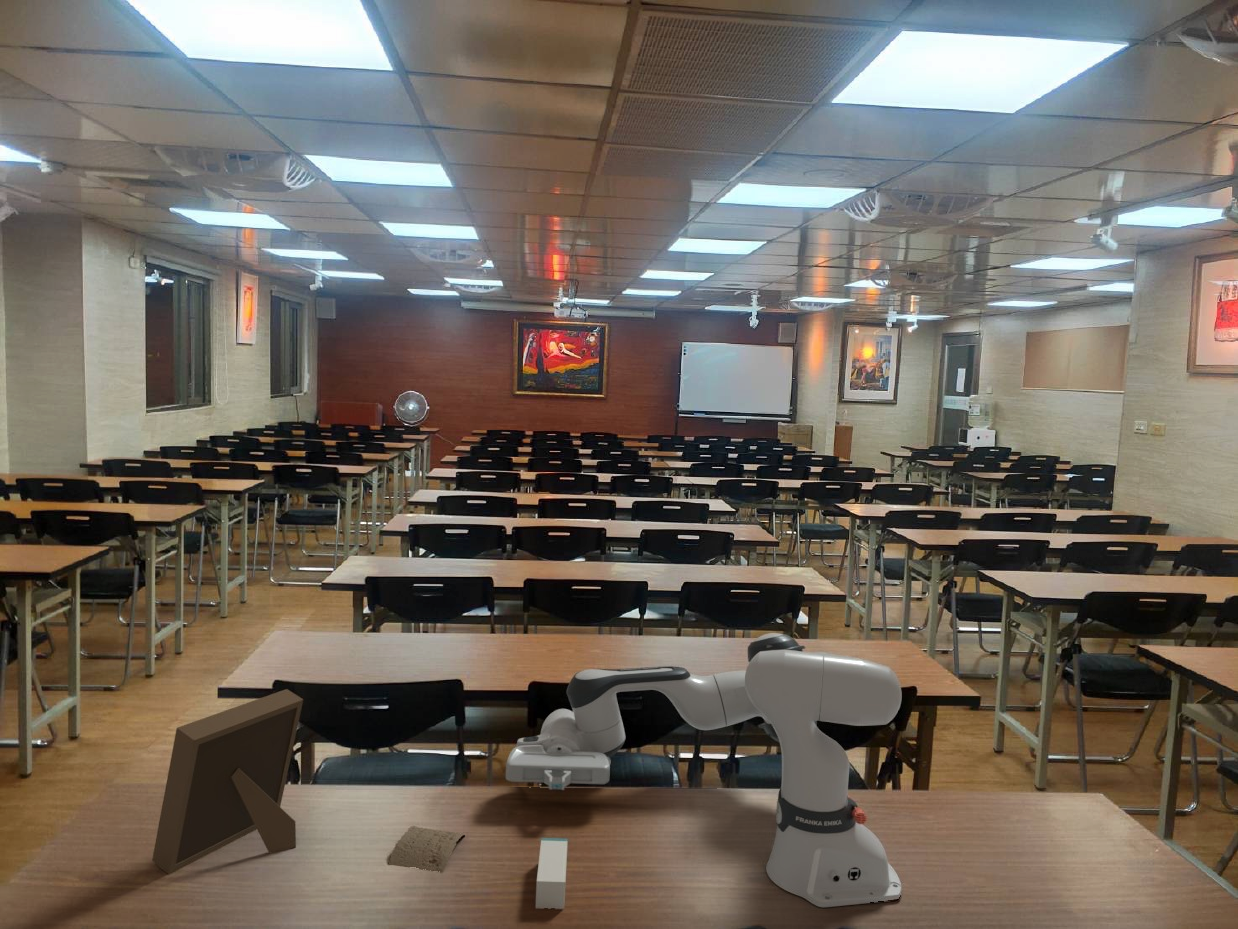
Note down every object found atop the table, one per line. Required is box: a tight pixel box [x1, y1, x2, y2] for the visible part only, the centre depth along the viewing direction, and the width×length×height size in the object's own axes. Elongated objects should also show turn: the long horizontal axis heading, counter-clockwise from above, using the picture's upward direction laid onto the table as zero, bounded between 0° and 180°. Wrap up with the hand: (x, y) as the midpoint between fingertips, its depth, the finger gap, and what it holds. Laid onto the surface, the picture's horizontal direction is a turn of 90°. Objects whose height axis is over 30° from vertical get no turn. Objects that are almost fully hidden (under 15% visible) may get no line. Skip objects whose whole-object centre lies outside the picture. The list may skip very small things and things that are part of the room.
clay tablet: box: [388, 825, 464, 874], centre depth 151 cm, size 15×10×3 cm
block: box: [535, 837, 569, 910], centre depth 142 cm, size 4×4×13 cm
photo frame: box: [151, 688, 304, 875], centre depth 147 cm, size 15×22×25 cm
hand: (556, 786), depth 162 cm, fingers closed
